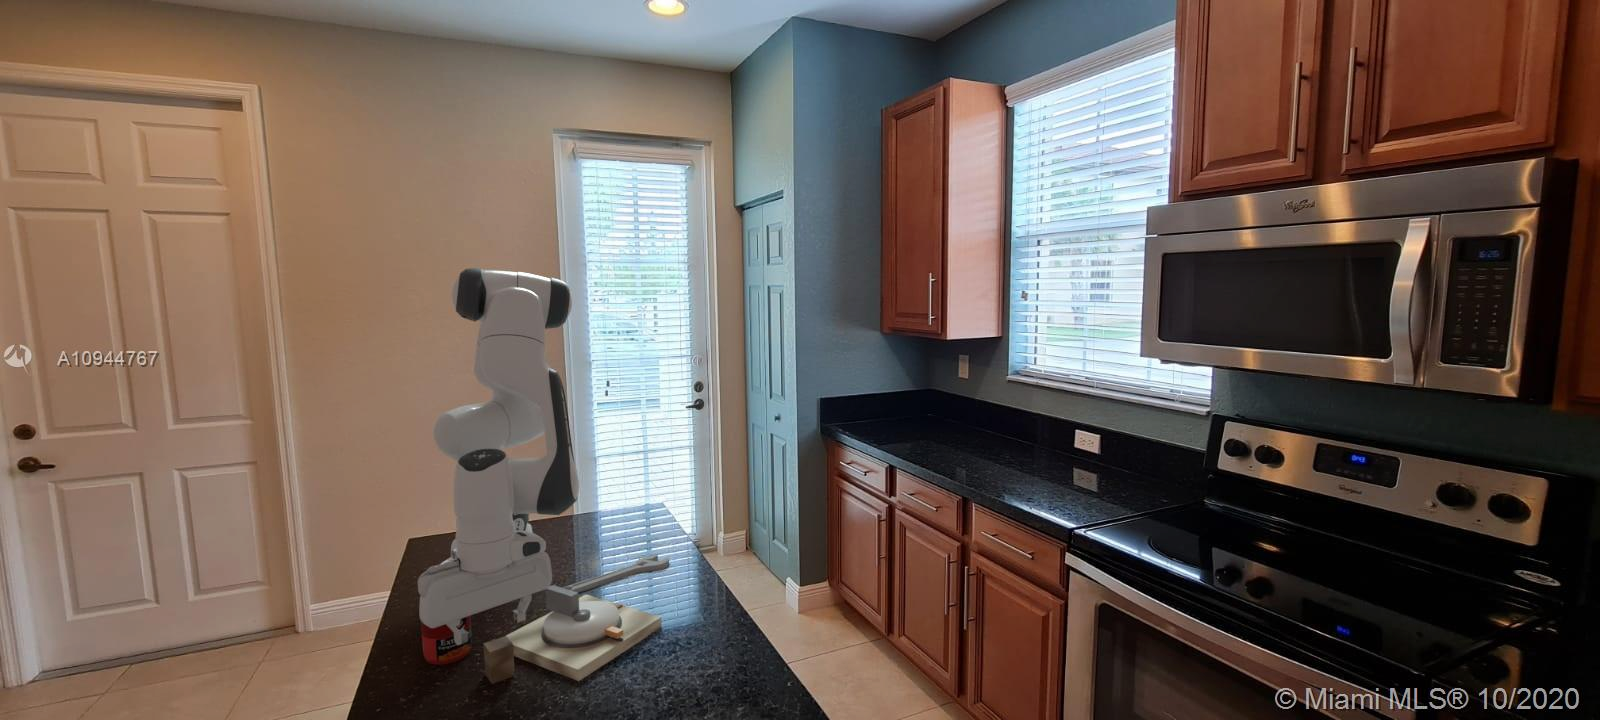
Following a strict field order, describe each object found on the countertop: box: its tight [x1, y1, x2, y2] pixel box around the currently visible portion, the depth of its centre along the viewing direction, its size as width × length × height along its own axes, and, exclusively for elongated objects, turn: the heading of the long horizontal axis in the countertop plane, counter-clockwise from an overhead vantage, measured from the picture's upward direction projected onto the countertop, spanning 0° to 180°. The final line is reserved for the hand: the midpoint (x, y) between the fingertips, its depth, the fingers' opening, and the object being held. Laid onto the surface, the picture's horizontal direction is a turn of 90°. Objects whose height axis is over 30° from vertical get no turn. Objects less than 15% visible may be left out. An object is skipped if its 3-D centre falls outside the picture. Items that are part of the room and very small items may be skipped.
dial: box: [544, 584, 623, 644], centre depth 122 cm, size 18×13×6 cm
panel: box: [505, 594, 663, 682], centre depth 123 cm, size 20×20×2 cm
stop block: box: [482, 635, 516, 685], centre depth 111 cm, size 4×4×6 cm
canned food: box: [420, 615, 473, 665], centre depth 118 cm, size 8×8×11 cm
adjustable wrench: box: [562, 554, 670, 594], centre depth 149 cm, size 25×6×2 cm, turn 128°
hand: (491, 631), depth 111 cm, fingers open, 8 cm apart
